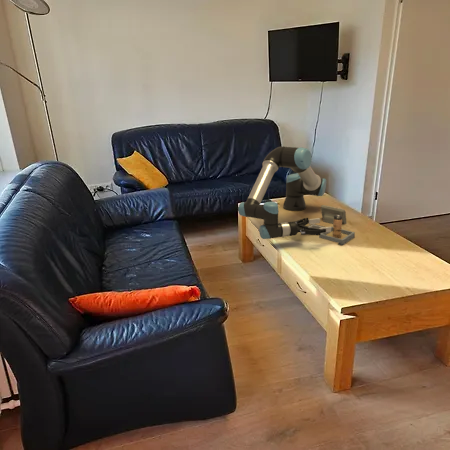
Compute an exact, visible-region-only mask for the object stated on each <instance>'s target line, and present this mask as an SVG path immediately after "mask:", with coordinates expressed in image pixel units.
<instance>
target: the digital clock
mask: <svg viewBox="0 0 450 450" xmlns="http://www.w3.org/2000/svg"><path fill="white" fill-rule="evenodd" d="M320 212H321V219H323V223H327V224H331V225H333V222H334V216H336V215H340V216H342V225H346V224H347V223H348V222H347V214H346V210H345V209H344V208H341V207H334V206H330V205H324V204H322V205H320Z"/></svg>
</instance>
